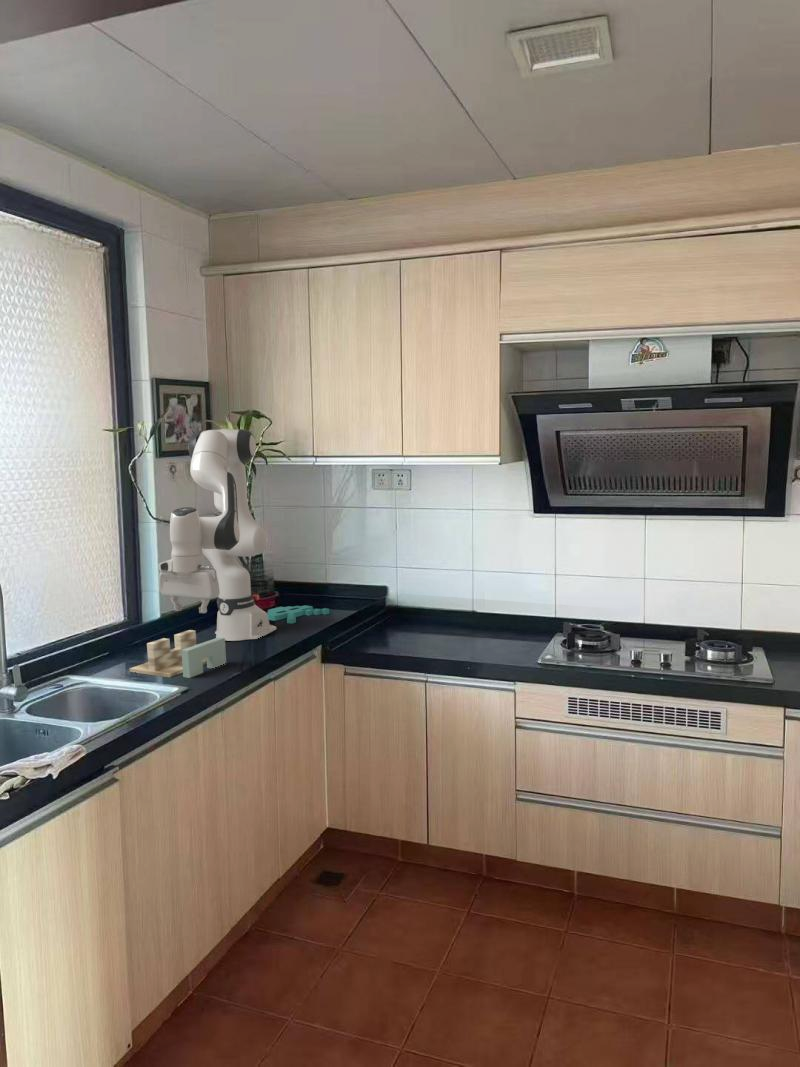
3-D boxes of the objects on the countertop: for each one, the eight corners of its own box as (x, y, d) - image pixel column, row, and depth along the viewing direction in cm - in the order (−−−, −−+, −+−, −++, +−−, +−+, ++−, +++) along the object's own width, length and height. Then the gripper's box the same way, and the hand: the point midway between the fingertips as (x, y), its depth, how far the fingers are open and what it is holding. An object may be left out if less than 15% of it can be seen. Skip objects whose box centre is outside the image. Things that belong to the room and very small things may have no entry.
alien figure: (329, 614, 324) (293, 609, 336) (329, 608, 323) (293, 603, 336) (291, 624, 308) (255, 618, 321) (291, 618, 308) (254, 613, 321)
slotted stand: (177, 655, 268) (175, 627, 267) (216, 660, 261) (214, 631, 260) (129, 671, 251) (127, 642, 250) (169, 677, 243) (167, 647, 242)
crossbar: (219, 662, 257) (218, 637, 256) (226, 663, 256) (224, 638, 255) (183, 676, 243) (181, 649, 242) (189, 677, 242) (187, 650, 241)
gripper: (222, 564, 240) (225, 612, 241) (169, 561, 250) (172, 607, 251) (207, 567, 234) (210, 616, 236) (153, 564, 244) (156, 611, 246)
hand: (190, 611), depth 244 cm, fingers open, 8 cm apart
